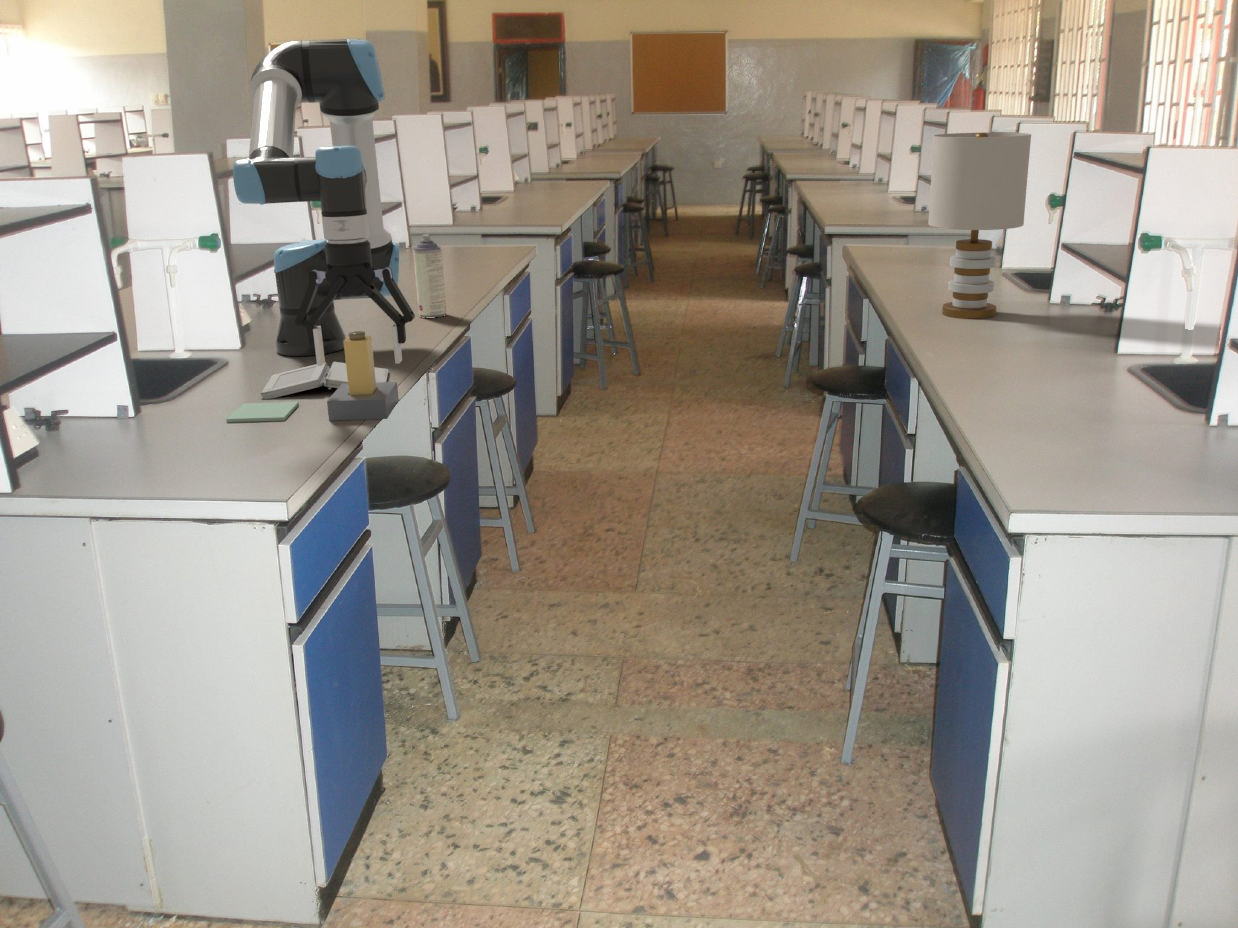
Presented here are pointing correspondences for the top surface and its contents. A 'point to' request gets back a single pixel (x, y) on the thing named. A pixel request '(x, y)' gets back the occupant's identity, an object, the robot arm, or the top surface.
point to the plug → (360, 364)
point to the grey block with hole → (363, 403)
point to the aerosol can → (429, 278)
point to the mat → (263, 412)
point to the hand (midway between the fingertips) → (360, 363)
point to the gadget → (311, 379)
